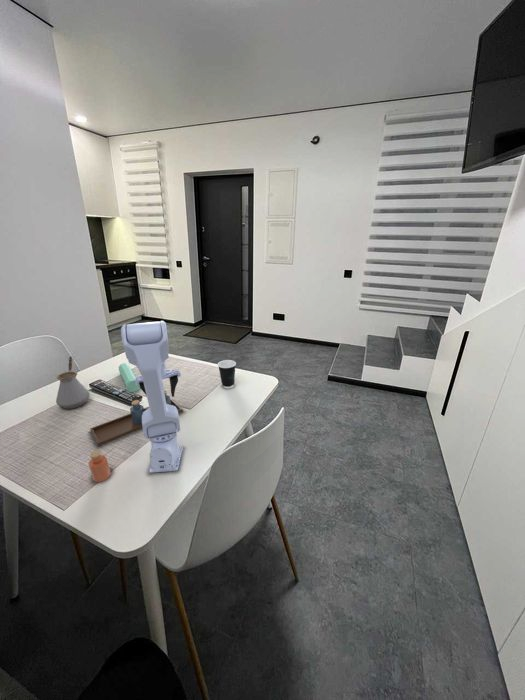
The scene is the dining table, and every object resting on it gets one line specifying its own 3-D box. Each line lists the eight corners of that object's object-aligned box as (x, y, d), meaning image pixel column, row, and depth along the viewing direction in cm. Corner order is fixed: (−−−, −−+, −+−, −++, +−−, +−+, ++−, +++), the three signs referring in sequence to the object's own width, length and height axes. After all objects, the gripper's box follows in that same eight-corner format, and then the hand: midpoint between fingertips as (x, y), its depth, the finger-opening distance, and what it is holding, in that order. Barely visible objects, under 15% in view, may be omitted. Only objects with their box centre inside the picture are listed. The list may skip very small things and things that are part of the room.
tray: (171, 401, 116) (171, 398, 115) (183, 412, 109) (182, 409, 108) (91, 432, 98) (90, 428, 97) (98, 447, 91) (97, 443, 90)
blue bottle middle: (143, 424, 101) (140, 405, 98) (131, 425, 101) (126, 405, 98) (147, 416, 105) (143, 398, 102) (134, 417, 105) (131, 399, 102)
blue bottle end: (170, 413, 107) (167, 395, 104) (158, 414, 107) (155, 395, 104) (172, 406, 112) (170, 389, 108) (161, 407, 111) (158, 389, 108)
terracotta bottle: (107, 481, 78) (100, 458, 75) (90, 482, 78) (83, 460, 75) (113, 469, 83) (107, 447, 80) (97, 470, 82) (90, 448, 79)
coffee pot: (90, 407, 112) (80, 373, 107) (55, 414, 108) (43, 379, 102) (94, 383, 130) (86, 353, 125) (64, 389, 126) (55, 358, 120)
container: (118, 360, 139) (127, 379, 120) (130, 362, 143) (142, 380, 124) (115, 371, 140) (124, 392, 121) (128, 373, 144) (138, 393, 124)
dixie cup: (235, 390, 124) (234, 367, 120) (217, 389, 125) (215, 367, 120) (238, 381, 131) (237, 360, 127) (221, 381, 132) (220, 359, 128)
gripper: (176, 354, 101) (180, 388, 106) (131, 362, 95) (138, 397, 100) (179, 362, 95) (184, 397, 100) (132, 370, 89) (140, 407, 95)
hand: (161, 398), depth 100 cm, fingers open, 7 cm apart
